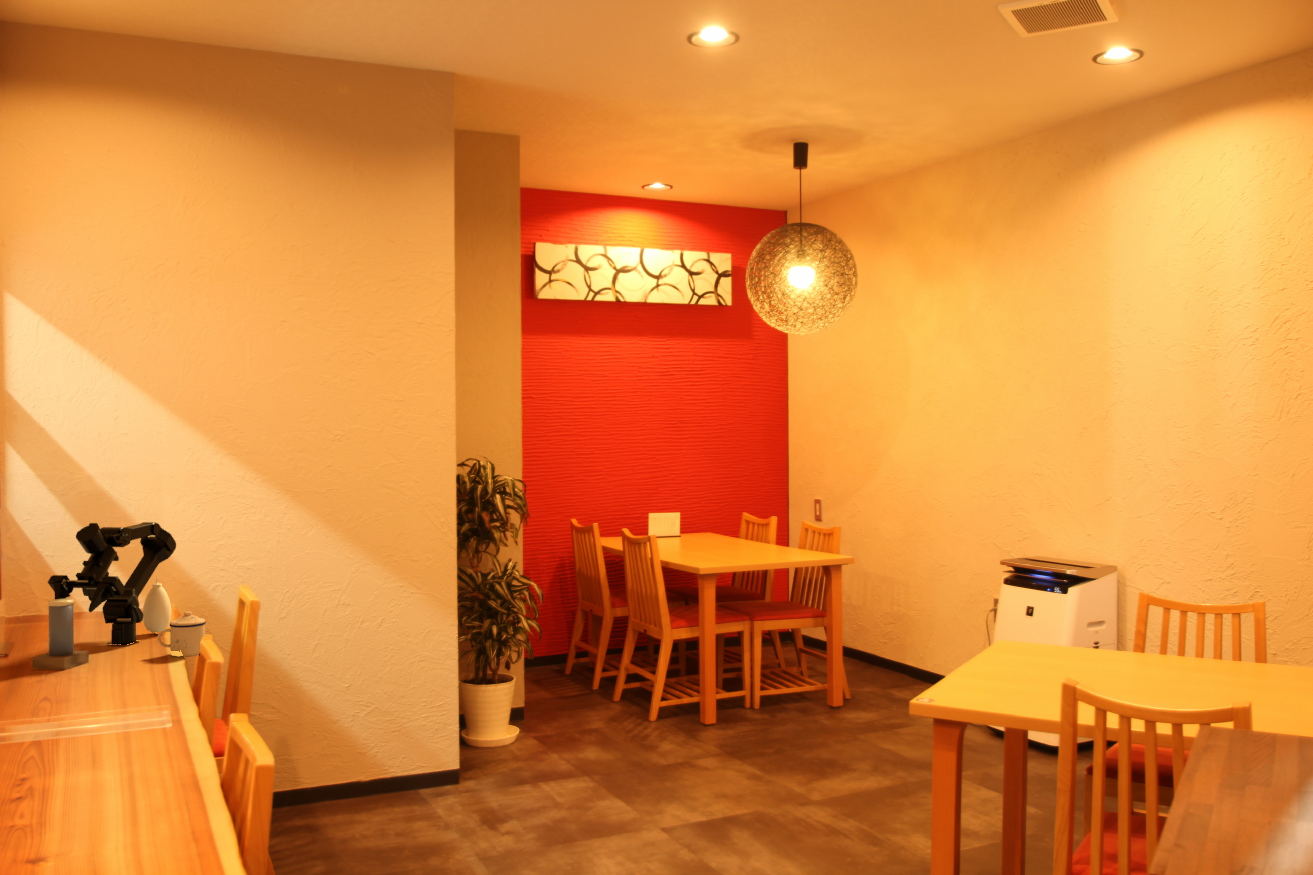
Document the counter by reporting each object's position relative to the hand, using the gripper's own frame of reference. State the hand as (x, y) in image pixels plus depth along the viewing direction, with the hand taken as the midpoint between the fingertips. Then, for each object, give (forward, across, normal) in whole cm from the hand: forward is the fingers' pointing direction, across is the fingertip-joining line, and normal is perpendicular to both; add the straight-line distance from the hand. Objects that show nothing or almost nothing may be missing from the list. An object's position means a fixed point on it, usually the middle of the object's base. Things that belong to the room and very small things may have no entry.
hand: (72, 610), depth 263 cm
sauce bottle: (-17, -2, -37) cm, 41 cm away
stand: (+13, 0, -6) cm, 14 cm away
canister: (+11, 0, -4) cm, 11 cm away
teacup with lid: (+2, -24, -17) cm, 30 cm away
